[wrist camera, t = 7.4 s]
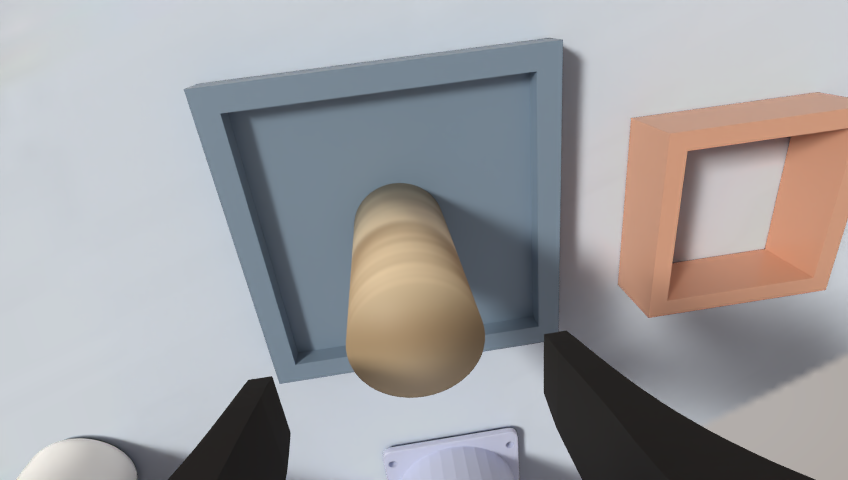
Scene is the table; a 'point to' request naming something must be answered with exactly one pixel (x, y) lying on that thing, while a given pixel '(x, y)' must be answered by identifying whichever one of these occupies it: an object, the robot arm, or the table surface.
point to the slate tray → (386, 164)
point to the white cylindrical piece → (79, 462)
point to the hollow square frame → (792, 218)
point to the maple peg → (409, 297)
